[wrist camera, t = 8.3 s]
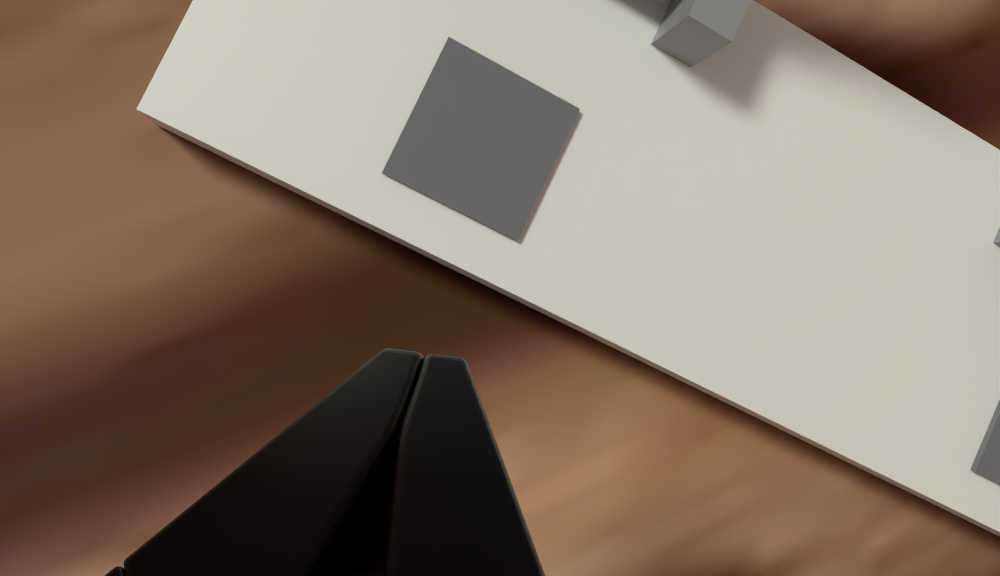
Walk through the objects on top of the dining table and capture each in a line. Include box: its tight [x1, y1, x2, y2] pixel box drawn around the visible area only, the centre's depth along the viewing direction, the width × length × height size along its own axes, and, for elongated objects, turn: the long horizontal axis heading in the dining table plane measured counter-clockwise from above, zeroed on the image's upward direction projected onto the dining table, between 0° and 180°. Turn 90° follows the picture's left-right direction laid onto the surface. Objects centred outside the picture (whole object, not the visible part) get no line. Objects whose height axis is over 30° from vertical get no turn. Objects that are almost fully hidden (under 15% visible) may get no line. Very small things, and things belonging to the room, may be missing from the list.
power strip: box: [137, 0, 1000, 537], centre depth 16 cm, size 8×25×3 cm, turn 64°
